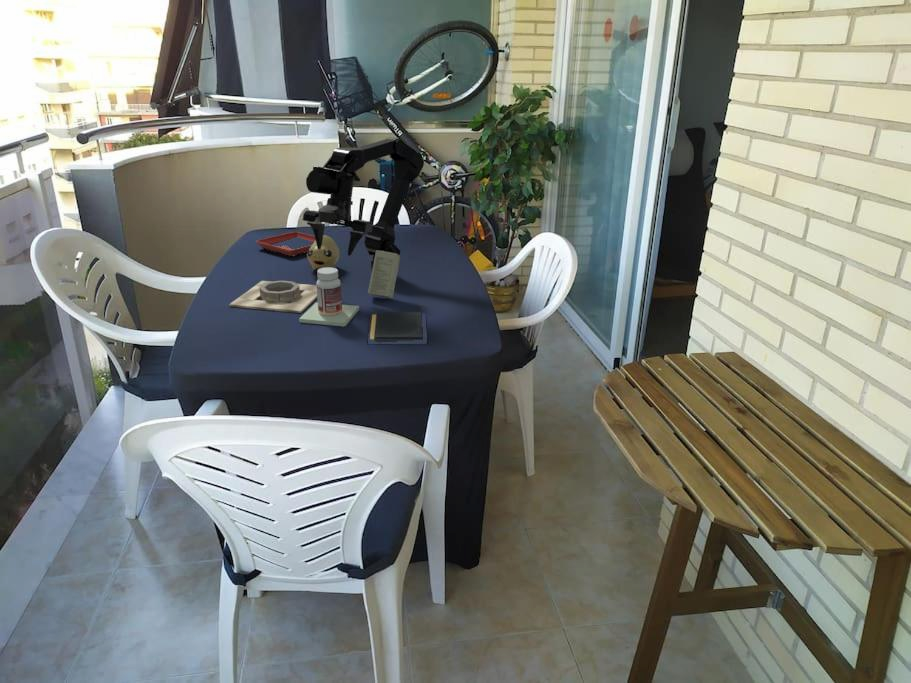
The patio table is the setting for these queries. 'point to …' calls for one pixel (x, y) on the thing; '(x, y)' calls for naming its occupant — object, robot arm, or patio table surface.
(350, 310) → the green mat
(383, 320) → the dark book
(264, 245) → the red square frame
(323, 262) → the beige toy figure
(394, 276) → the skincare box
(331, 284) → the pill bottle
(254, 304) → the collar plate
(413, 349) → the patio table surface
